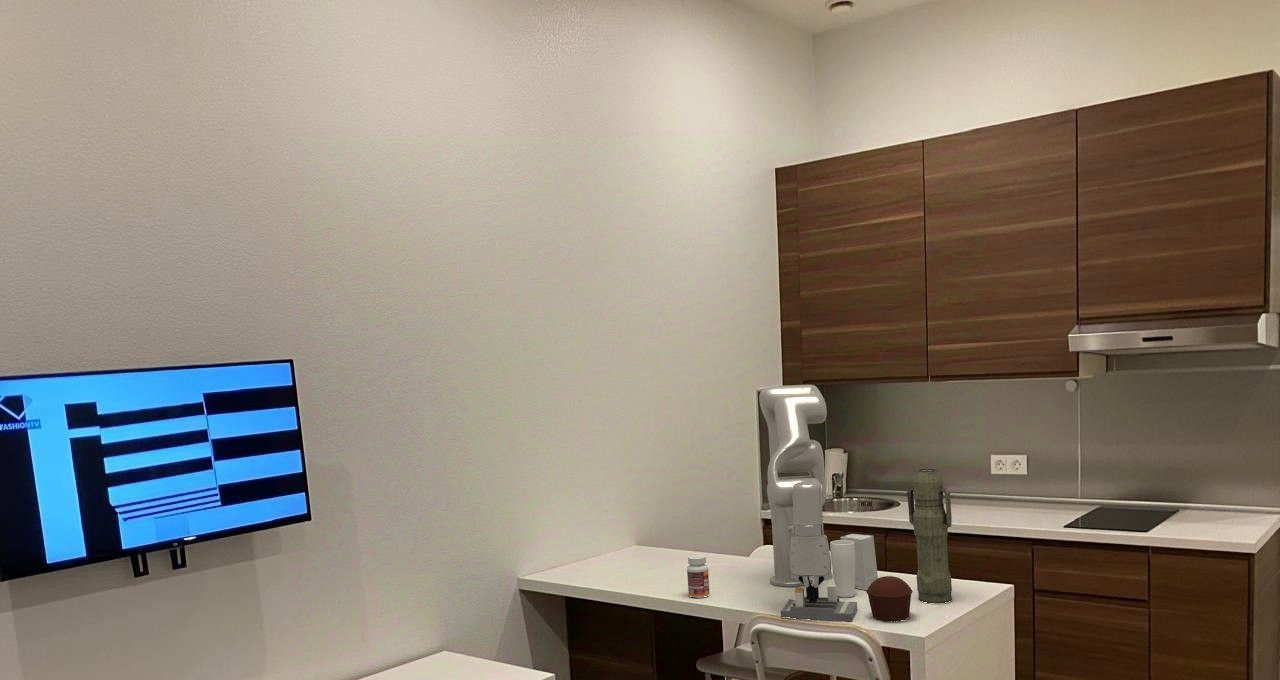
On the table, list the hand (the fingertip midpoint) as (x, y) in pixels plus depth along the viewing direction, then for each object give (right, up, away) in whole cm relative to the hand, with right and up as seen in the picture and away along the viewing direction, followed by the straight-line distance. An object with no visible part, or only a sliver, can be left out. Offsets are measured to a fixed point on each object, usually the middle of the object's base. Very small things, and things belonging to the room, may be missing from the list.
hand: (812, 601), depth 236 cm
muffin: (+19, -3, -3) cm, 20 cm away
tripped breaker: (-3, -2, +1) cm, 4 cm away
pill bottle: (-28, -7, +29) cm, 40 cm away
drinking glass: (+13, -4, +20) cm, 24 cm away
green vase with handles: (+35, -3, +11) cm, 37 cm away
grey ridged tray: (+2, -4, +3) cm, 5 cm away
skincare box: (+20, -4, +30) cm, 36 cm away
